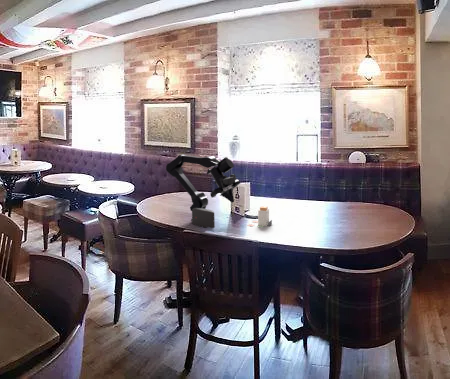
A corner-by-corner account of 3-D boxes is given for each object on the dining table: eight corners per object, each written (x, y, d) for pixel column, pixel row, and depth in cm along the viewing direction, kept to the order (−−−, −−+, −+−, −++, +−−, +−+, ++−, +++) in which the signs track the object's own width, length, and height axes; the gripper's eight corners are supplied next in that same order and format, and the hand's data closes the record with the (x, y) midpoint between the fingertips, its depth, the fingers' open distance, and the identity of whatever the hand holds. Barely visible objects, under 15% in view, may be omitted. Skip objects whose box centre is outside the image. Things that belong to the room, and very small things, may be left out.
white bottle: (258, 225, 212) (258, 207, 210) (260, 223, 216) (261, 205, 214) (266, 226, 210) (266, 208, 208) (268, 223, 214) (269, 206, 213)
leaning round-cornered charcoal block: (218, 228, 212) (218, 210, 210) (212, 230, 208) (212, 212, 207) (197, 223, 222) (197, 206, 221) (191, 225, 219) (191, 208, 217)
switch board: (239, 227, 213) (239, 220, 212) (246, 222, 223) (246, 216, 222) (267, 230, 207) (267, 223, 206) (273, 225, 217) (273, 218, 216)
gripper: (214, 175, 205) (229, 202, 204) (238, 165, 218) (253, 190, 216) (203, 184, 214) (218, 210, 212) (227, 174, 226) (241, 198, 224)
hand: (233, 202), depth 216 cm, fingers closed
